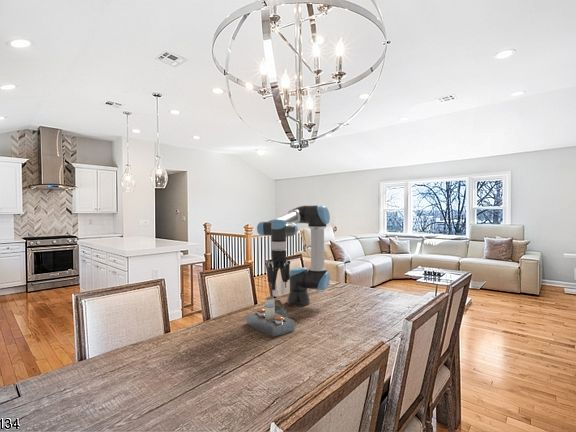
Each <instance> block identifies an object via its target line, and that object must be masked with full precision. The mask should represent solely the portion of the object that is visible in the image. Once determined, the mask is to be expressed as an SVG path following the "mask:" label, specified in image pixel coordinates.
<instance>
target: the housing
mask: <svg viewBox="0 0 576 432" xmlns="http://www.w3.org/2000/svg"><path fill="white" fill-rule="evenodd" d="M276 315H280V314H277V313H275V316H276ZM295 322H296V321H295V320H294V319H292V318H290V317H288V316H287V317H284V319H283V323H280V324H275V319H273V320H269V321H268V320H266V319H265V315H261V316H258V312H257V311H255V312H252V313H248V314H246V324H247V325H248V326H250V327H252V328H254V329H256V330H258V331H260V332H262V333H264V334H266V335H267V336H269V337H271V338H276V337H278V336H282V335H285V334H289V333H290V332H294V331H295V329H296V328H295V327H296V326H295V325H296V323H295Z"/></svg>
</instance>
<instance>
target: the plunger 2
mask: <svg viewBox="0 0 576 432" xmlns="http://www.w3.org/2000/svg"><path fill="white" fill-rule="evenodd" d="M274 319H275V324H280V323H283V319H284V316H282V315H276V316H274Z"/></svg>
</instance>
